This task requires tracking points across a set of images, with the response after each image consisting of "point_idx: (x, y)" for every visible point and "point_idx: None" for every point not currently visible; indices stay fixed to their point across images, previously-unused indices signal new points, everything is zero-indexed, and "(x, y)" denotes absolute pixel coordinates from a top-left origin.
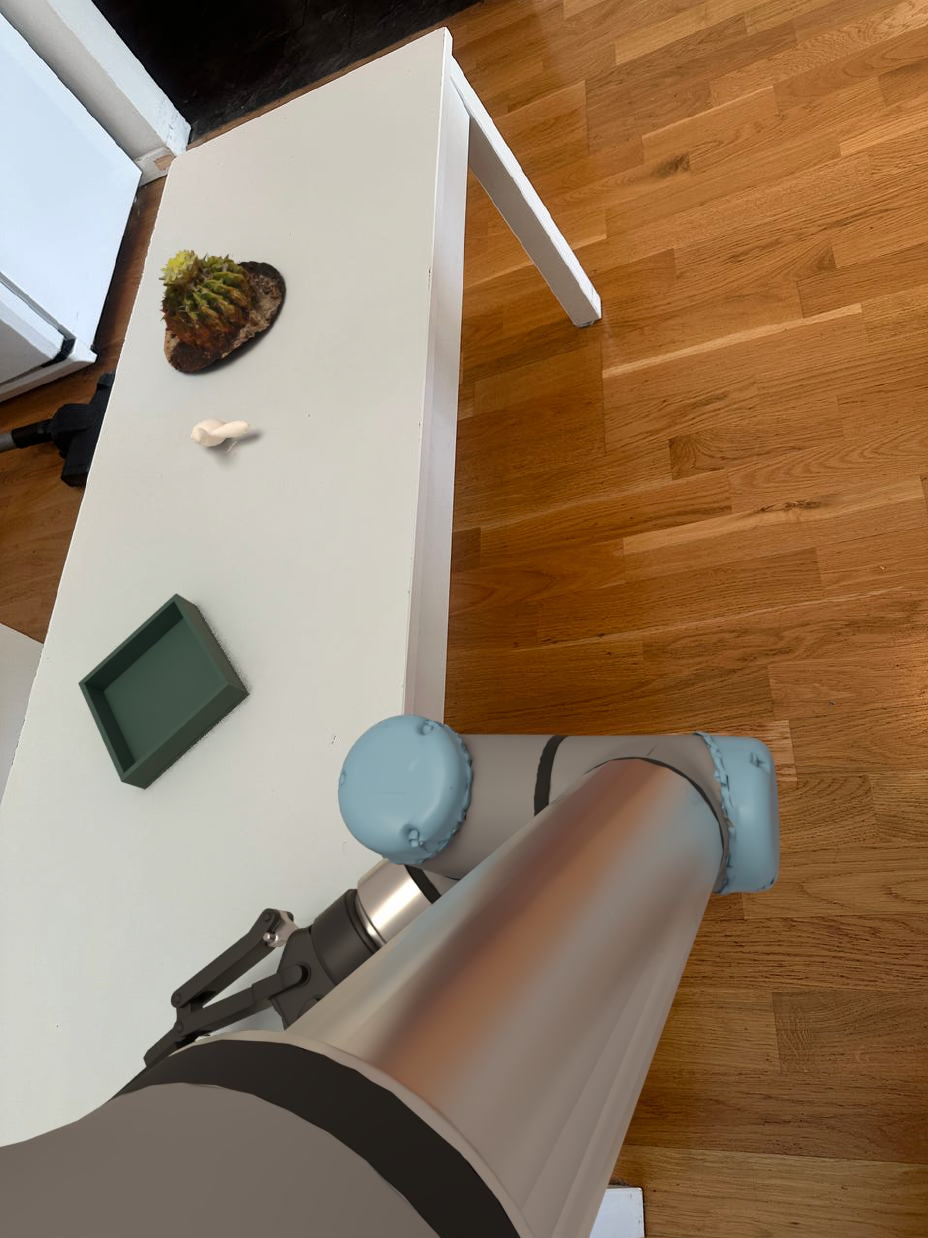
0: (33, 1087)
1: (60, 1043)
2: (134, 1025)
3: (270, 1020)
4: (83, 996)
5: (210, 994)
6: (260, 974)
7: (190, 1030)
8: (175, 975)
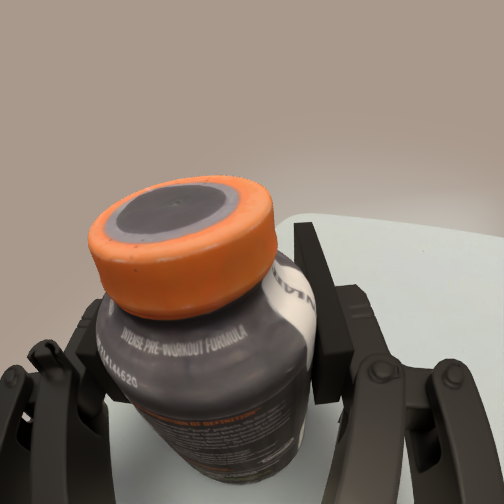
0: (380, 231)
1: (408, 250)
2: (406, 310)
3: (318, 499)
4: (443, 272)
5: (420, 452)
6: None
7: (360, 401)
8: None
